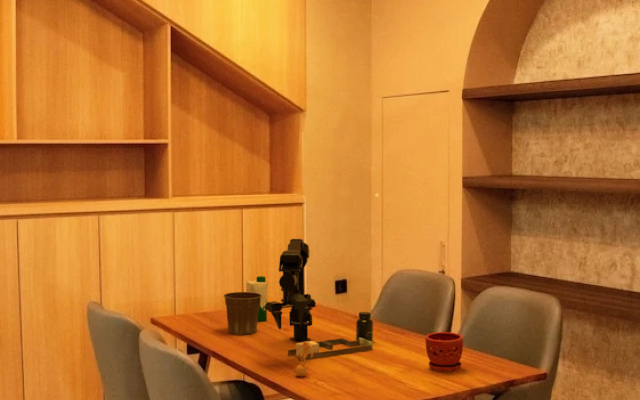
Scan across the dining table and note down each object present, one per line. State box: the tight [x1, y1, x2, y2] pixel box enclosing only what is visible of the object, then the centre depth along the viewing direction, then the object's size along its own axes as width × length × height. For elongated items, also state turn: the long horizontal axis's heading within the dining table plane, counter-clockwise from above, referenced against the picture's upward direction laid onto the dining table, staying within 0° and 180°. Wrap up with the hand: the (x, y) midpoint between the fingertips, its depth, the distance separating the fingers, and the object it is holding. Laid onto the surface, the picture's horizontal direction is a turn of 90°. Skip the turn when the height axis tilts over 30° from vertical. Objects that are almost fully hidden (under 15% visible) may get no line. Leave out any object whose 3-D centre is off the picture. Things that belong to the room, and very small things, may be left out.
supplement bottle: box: [355, 311, 374, 342], centre depth 315 cm, size 7×7×12 cm
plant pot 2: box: [425, 331, 464, 373], centre depth 276 cm, size 13×13×12 cm
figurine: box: [295, 341, 313, 378], centre depth 267 cm, size 8×6×12 cm
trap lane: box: [287, 338, 374, 362], centre depth 301 cm, size 15×33×3 cm, turn 120°
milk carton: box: [245, 275, 268, 323], centre depth 355 cm, size 9×9×20 cm
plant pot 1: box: [223, 291, 262, 336], centre depth 332 cm, size 16×16×16 cm
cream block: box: [295, 340, 320, 358], centre depth 293 cm, size 5×7×5 cm
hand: (290, 327), depth 287 cm, fingers open, 9 cm apart
